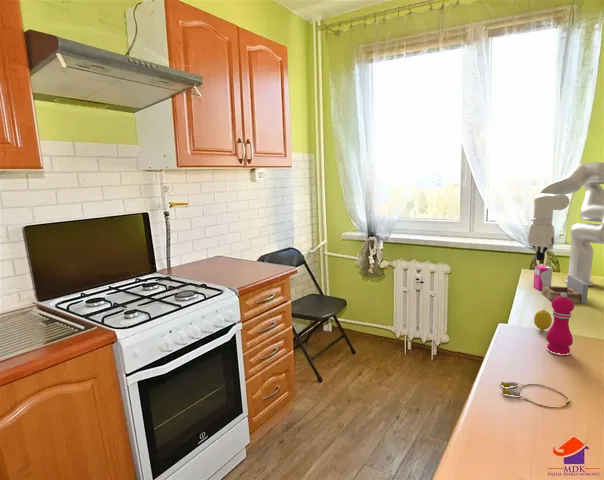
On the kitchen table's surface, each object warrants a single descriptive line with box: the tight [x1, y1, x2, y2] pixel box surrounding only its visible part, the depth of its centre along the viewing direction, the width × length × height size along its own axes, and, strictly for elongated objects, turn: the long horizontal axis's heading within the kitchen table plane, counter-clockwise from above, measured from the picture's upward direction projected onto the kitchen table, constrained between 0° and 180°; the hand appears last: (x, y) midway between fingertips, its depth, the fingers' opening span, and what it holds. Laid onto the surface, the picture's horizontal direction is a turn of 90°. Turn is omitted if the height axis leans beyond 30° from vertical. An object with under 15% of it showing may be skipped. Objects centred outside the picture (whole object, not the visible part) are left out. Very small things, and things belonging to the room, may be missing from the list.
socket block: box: [541, 285, 581, 304], centre depth 179 cm, size 12×12×4 cm
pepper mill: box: [546, 292, 575, 354], centre depth 125 cm, size 7×7×20 cm
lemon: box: [533, 309, 553, 331], centre depth 143 cm, size 6×6×8 cm
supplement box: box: [532, 265, 553, 292], centre depth 193 cm, size 6×6×12 cm
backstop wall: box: [566, 275, 590, 305], centre depth 178 cm, size 16×2×9 cm, turn 166°
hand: (540, 260), depth 185 cm, fingers closed
